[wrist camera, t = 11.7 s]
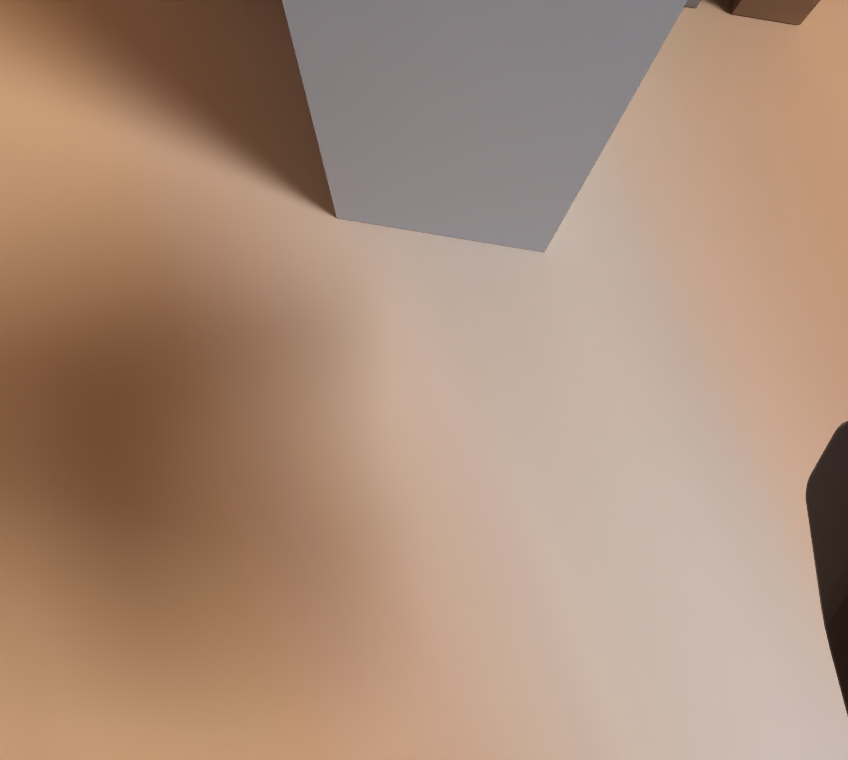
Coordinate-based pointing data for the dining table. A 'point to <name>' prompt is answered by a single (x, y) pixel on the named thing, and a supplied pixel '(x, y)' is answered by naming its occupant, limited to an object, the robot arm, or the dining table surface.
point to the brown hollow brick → (770, 9)
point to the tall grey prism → (469, 105)
